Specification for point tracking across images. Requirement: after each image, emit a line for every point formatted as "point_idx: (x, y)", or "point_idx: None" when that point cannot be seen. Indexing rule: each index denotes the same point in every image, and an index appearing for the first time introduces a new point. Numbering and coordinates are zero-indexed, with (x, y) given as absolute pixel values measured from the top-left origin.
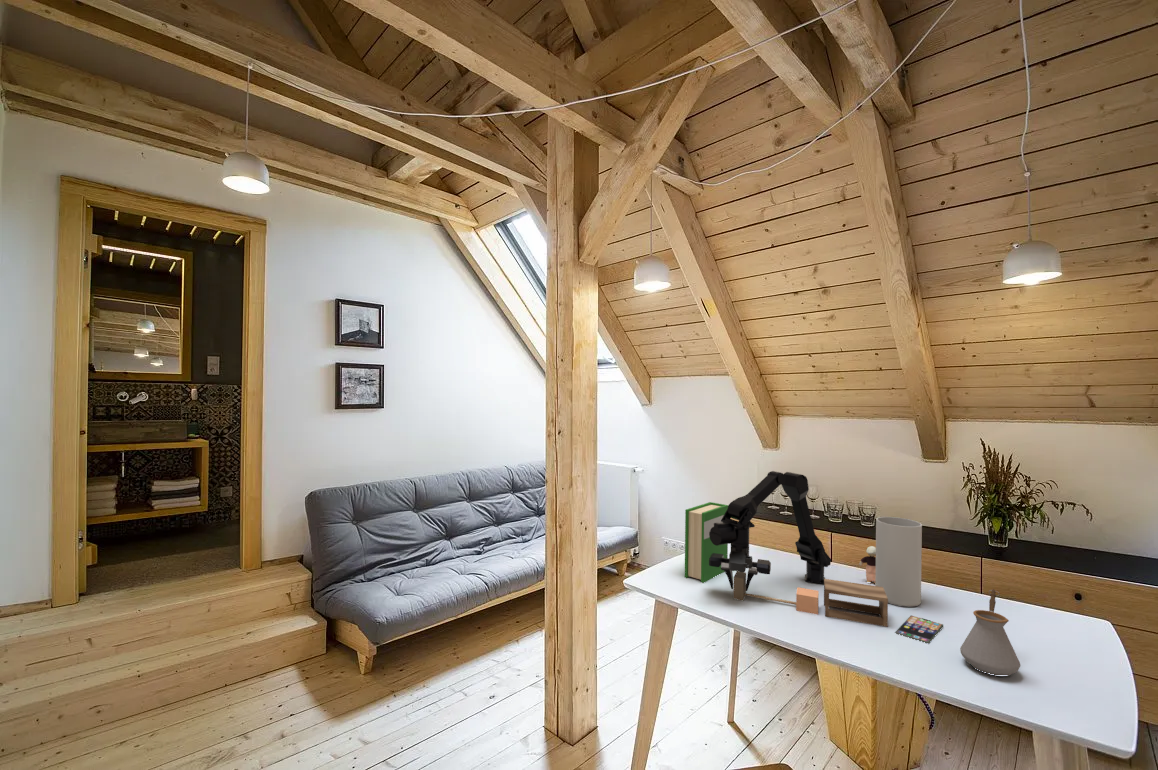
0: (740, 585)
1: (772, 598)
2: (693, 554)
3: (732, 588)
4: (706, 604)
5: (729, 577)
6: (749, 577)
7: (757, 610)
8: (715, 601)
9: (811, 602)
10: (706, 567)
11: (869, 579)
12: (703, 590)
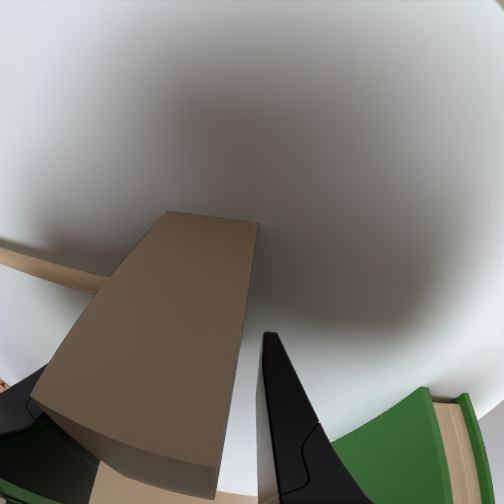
0: (125, 313)
1: (10, 259)
2: (467, 494)
3: (265, 334)
4: (484, 46)
5: (304, 447)
6: (18, 406)
7: (56, 63)
8: (432, 112)
9: None
10: (411, 465)
11: (3, 389)
12: (462, 309)
